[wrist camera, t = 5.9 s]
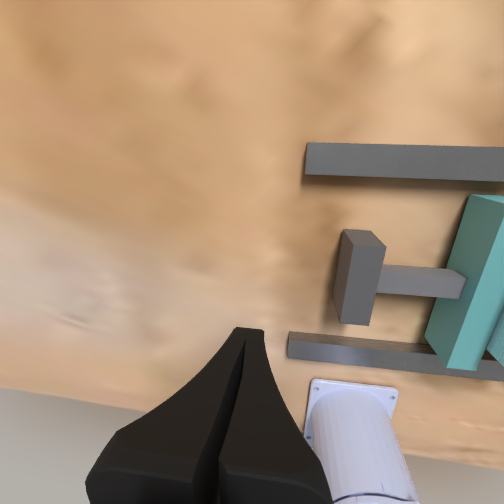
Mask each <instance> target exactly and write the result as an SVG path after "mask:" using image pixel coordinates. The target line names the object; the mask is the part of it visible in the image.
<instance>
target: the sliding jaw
mask: <svg viewBox="0 0 504 504" xmlns="http://www.w3.org/2000/svg"><path fill="white" fill-rule="evenodd" d="M385 251H386V246H385V245H384V244H383V243H382V242H381V241H380V240H379V239H378V238H377V237H376V236H375V235H374V234H373V233H372V232H371V231H365V230H348V229H343V234H342V240H341V247H340V253H339V259H338V266H337V272H336V279H335V285H334V291H333V301H334V305H335V308H336V311H337V315H338V318H339V322H340V323H343V324H354V325H364V326H369V323H370V318H371V314H372V309H373V305H374V300H375V296H376V292H378V293H391V294H403V295H416V296H428V297H437V298H436V301H435V304H434V307H433V310H432V313H431V316H430V319H429V323H428V326H427V329H426V332H425V335H424V337H425V338H426V340H427V341H428V343H429V344H430V345H431V347H432V348H433V350H434V351H435V352H436V354H437V355H438V357H439V358H440V360H441V361H442V362H443V364H444V365H445V367H446V368H453V369H463V370H472V371H476V370H477V367H478V365H479V363H480V360H481V358H482V356H483V354H484V351H485V349H486V347H487V344H488V342H489V340H490V337H491V335H492V333H493V331H494V328H495V326H496V324H497V321H498V319H499V317H500V315H501V312H502V310H503V308H504V196H502V195H480V194H470V196H469V199H468V202H467V205H466V208H465V211H464V214H463V217H462V220H461V223H460V227H459V230H458V233H457V236H456V239H455V242H454V245H453V248H452V251H451V254H450V258H449V261H448V264H447V267H446V269H440V268H426V267H411V266H397V265H383V260H384V256H385Z"/></svg>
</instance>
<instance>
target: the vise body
mask: <svg viewBox="0 0 504 504" xmlns="http://www.w3.org/2000/svg"><path fill="white" fill-rule="evenodd" d="M304 173H305V174H313V175H340V176H367V177H394V178H421V179H447V180H474V181H501V182H504V147H469V146H429V145H389V144H349V143H310V142H308V143H307V149H306V160H305V171H304ZM288 358H292V359H301V360H311V361H320V362H329V363H338V364H347V365H357V366H366V367H375V368H384V369H394V370H403V371H412V372H421V373H431V374H440V375H449V376H458V377H467V378H477V379H486V380H495V381H504V367H503V366H502V365H501V364H500V363H499V362H498V361H497V360H496V359H495V358H494V356H493V355H492V354H491V353H490V352H489V351H484V354H483V356H482V358H481V360H480V363H479V365H478V367H477V370H476V371H472V370H463V369H453V368H446V367H445V365H444V364H443V362H442V361H441V360H440V358H439V357H438V355H437V354H436V352H435V351H434V350H433V348H432V347H431V345H423V344H413V343H403V342H393V341H383V340H372V339H362V338H352V337H342V336H332V335H321V334H311V333H301V332H291V331H290V332H289V343H288Z"/></svg>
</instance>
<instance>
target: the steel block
mask: <svg viewBox="0 0 504 504" xmlns="http://www.w3.org/2000/svg"><path fill="white" fill-rule="evenodd" d="M486 349H487V350H488V351H489V352H490V353H491V354H492V355H493V356H494V358H495V359H496V360H497V361H498V362H499V363H500V364H501V365H502V366H503V367H504V308H503V310H502V312H501V315H500V317H499V319H498V321H497V324H496V326H495V328H494V331H493V333H492V335H491V337H490V340H489V342H488V344H487V347H486Z"/></svg>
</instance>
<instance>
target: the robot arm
mask: <svg viewBox="0 0 504 504" xmlns="http://www.w3.org/2000/svg"><path fill="white" fill-rule="evenodd" d="M315 387H317V388H315ZM398 395H399V393H398V390H397V389H396V388H394V387H386V386H377V385H369V384H360V383H351V382H342V381H334V380H325V379H313V380H312V381H311V387H310V394H309V401H308V408H307V415H306V422H305V429H304V436H303V435H302V433H301V432H300V430H299V428H298V427H297V425H296V423H295V421H294V420H293V418H292V416H291V414H290V412H289V411H288V409H287V407H286V405H285V403H284V401H283V399H282V396H281V394H280V392H279V390H278V387H277V385H276V382H275V380H274V377H273V374H272V371H271V368H270V365H269V361H268V358H267V354H266V349H265V343H264V331H263V330H261V329H251V328H241V327H236V328H235V329H234V330H233V331H232V333H231V335H230V336H229V337H228V339H227V340H226V342H225V343H224V344H223V346H222V347H221V348H220V349H219V351H218V352H217V353H216V354H215V355H214V357H213V358H212V359H211V360H210V361H209V362H208V363H207V364H206V365H205V367H204V368H203V369H202V370H201V371H200V372H199V373H198V374H197V375H196V376H195V377H194V378H193V379H191V380H190V381H189V382H188V383H187V384H186V385H185V386H184V387H182V388H181V389H180V390H179V391H178V392H176V393H175V394H174V395H173V396H171V397H170V398H169V399H167V400H166V401H165V402H163V403H162V404H160V405H159V406H157V407H156V408H154V409H153V410H152V411H150V412H149V413H147V414H146V415H144V416H142V417H141V418H139V419H137V420H136V421H134V422H132V423H130V424H129V425H127V426H125V427H123V428H121V429H120V430H118V431H116V433H115V434H114V436H113V437H112V438H111V440H110V441H109V442H108V444H107V445H106V447H105V448H104V449H103V451H102V453H101V454H100V456H99V457H98V459H97V461H96V462H95V464H94V466H93V468H92V469H91V471H90V472H89V474H88V476H87V478H86V481H85V485H86V492H87V495H88V498H89V501H90V504H421V502H420V499H419V496H418V494H417V491H416V488H415V486H414V483H413V480H412V477H411V475H410V472H409V469H408V467H407V464H406V461H405V459H404V456H403V453H402V451H401V448H400V445H399V442H398V440H397V437H396V434H395V432H394V429H393V426H392V424H391V418H392V415H393V411H394V408H395V405H396V402H397V399H398ZM391 396H392V397H391ZM311 448H313V450H312V449H311Z"/></svg>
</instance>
